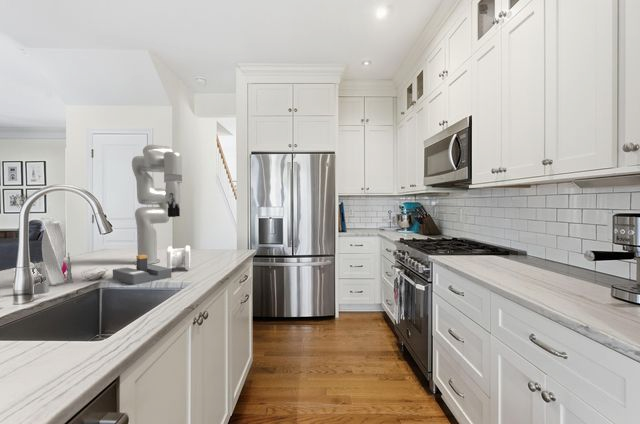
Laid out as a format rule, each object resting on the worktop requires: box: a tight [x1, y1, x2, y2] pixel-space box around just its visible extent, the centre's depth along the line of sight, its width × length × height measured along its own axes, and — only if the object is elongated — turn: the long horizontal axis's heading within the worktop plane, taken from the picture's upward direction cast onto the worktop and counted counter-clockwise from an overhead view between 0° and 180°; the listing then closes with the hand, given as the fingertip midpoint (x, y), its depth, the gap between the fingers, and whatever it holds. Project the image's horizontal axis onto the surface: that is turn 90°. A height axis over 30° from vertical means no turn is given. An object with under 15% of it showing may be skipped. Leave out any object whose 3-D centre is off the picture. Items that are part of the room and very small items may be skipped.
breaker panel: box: [112, 264, 172, 286], centre depth 142 cm, size 20×16×4 cm
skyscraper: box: [40, 216, 74, 287], centre depth 132 cm, size 8×8×28 cm
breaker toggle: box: [136, 254, 147, 272], centre depth 142 cm, size 3×3×8 cm
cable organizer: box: [166, 244, 192, 271], centre depth 161 cm, size 15×11×12 cm
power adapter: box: [30, 260, 50, 295], centre depth 119 cm, size 3×5×12 cm, turn 108°
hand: (174, 216), depth 146 cm, fingers open, 9 cm apart
